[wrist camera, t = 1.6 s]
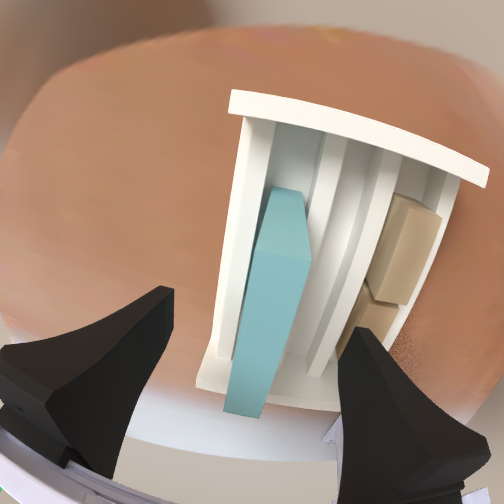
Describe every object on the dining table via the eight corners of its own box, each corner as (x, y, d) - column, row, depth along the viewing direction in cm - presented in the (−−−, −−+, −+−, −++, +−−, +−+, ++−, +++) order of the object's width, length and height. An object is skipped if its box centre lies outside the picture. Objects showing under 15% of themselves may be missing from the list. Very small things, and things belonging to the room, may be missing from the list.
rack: (443, 154, 14) (489, 168, 10) (359, 365, 21) (368, 413, 17) (249, 99, 15) (232, 89, 10) (212, 338, 22) (195, 387, 17)
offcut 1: (386, 282, 17) (399, 309, 15) (359, 340, 19) (366, 370, 17) (358, 276, 17) (368, 303, 15) (333, 337, 20) (337, 367, 17)
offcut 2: (416, 199, 15) (442, 218, 12) (389, 274, 17) (406, 305, 14) (386, 190, 15) (409, 207, 12) (361, 268, 17) (374, 299, 14)
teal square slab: (301, 192, 16) (311, 261, 8) (272, 310, 19) (258, 418, 11) (273, 185, 16) (254, 249, 8) (248, 305, 19) (223, 411, 12)
